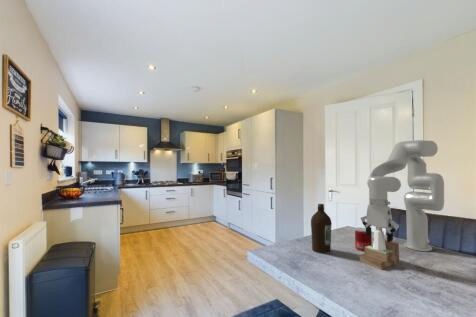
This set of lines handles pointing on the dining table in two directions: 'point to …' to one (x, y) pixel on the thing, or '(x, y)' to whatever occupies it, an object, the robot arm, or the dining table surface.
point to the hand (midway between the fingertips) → (378, 238)
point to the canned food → (362, 239)
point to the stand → (381, 255)
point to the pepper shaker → (379, 239)
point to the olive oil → (321, 231)
